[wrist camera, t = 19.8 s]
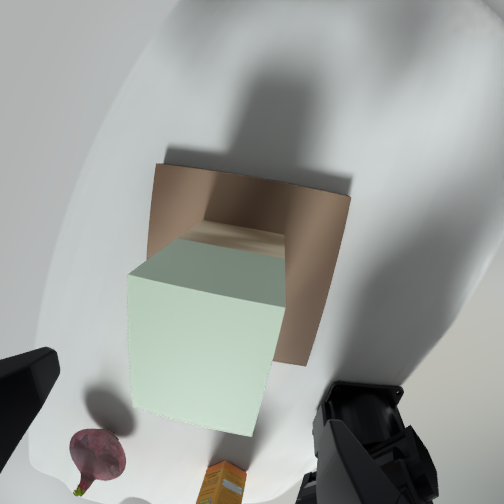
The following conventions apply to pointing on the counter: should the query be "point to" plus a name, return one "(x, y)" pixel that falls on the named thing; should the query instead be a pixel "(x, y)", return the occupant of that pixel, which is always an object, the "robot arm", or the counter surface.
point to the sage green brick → (204, 333)
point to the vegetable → (96, 456)
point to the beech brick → (237, 238)
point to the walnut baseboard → (266, 219)
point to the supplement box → (222, 484)
